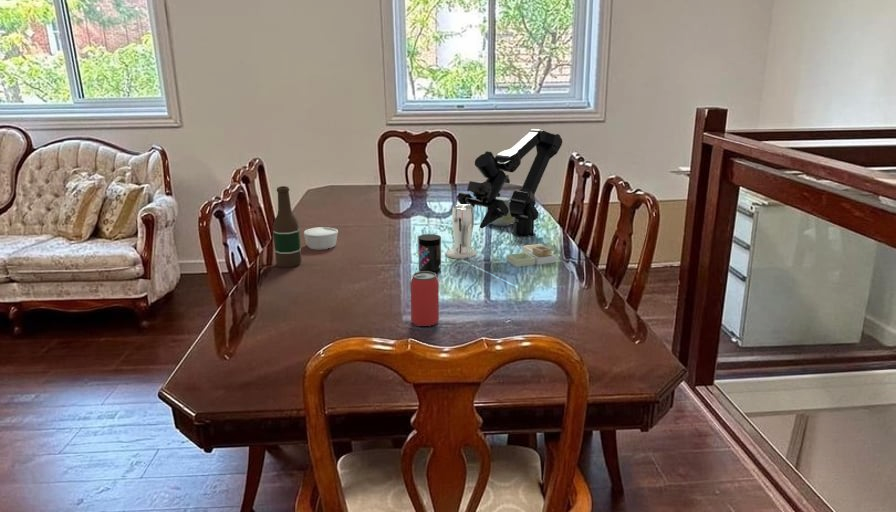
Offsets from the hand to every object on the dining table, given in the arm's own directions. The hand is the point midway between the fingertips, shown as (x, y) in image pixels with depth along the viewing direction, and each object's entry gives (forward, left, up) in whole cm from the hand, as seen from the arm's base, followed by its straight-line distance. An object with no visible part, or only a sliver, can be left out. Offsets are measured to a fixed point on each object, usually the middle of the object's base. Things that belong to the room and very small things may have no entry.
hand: (470, 225), depth 197 cm
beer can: (+33, +48, -9) cm, 59 cm away
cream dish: (-18, +11, -9) cm, 23 cm away
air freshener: (-25, -28, -9) cm, 39 cm away
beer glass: (+3, +1, -9) cm, 9 cm away
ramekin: (+44, -25, -9) cm, 51 cm away
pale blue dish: (-16, +18, -9) cm, 26 cm away
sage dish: (-9, +18, -9) cm, 22 cm away
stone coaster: (+4, +2, -9) cm, 10 cm away
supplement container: (+19, +13, -9) cm, 25 cm away
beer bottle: (+57, -9, -9) cm, 58 cm away
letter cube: (-16, +18, -8) cm, 26 cm away
